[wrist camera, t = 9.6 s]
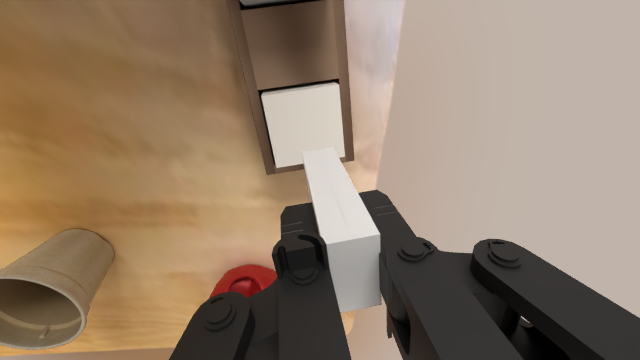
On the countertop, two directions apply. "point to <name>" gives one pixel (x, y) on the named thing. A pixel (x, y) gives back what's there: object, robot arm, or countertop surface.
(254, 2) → the grey key
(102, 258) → the flower pot
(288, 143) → the off-white key
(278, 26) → the brown wooden long tray
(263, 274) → the pomegranate
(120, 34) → the countertop surface
